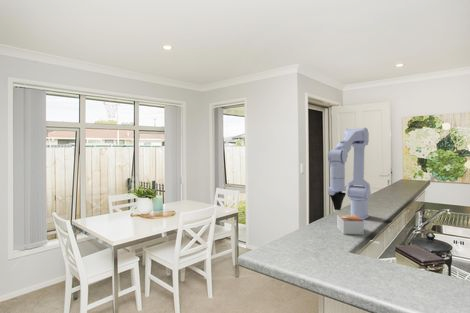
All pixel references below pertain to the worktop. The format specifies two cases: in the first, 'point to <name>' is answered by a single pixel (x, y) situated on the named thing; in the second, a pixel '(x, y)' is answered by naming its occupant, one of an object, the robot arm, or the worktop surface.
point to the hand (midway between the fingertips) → (337, 209)
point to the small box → (350, 224)
